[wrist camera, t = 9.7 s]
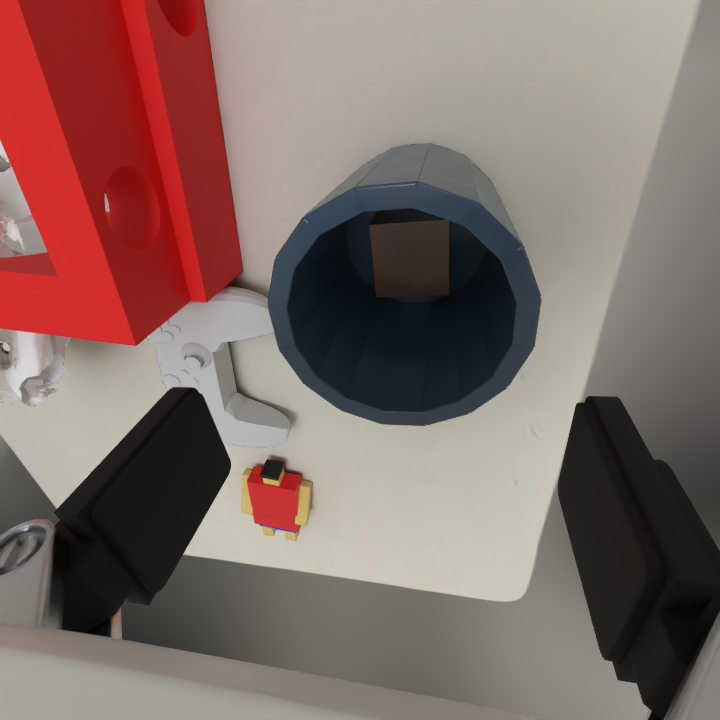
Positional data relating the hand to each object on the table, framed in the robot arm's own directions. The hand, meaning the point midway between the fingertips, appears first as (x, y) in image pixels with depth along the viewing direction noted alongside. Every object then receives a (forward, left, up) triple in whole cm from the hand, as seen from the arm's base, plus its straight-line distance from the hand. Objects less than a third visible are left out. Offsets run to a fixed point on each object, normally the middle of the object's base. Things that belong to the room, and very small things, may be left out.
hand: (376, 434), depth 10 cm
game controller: (+15, +9, -17) cm, 25 cm away
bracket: (+16, -8, -17) cm, 25 cm away
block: (0, 0, -17) cm, 17 cm away
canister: (0, 0, -17) cm, 17 cm away
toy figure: (+15, +26, -17) cm, 35 cm away
